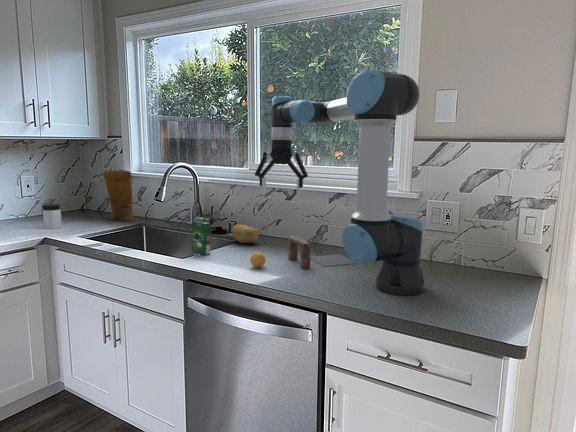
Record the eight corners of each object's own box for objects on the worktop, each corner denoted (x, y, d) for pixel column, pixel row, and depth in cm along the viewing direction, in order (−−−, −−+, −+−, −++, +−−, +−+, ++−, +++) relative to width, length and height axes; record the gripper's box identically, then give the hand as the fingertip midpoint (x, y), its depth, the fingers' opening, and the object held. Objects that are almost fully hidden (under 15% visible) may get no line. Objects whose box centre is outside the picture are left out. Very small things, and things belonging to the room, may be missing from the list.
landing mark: (357, 263, 169) (357, 263, 169) (323, 266, 164) (323, 266, 164) (340, 254, 182) (340, 254, 182) (308, 257, 177) (308, 256, 177)
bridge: (295, 258, 175) (295, 235, 174) (310, 268, 162) (310, 243, 160) (288, 258, 174) (288, 235, 172) (302, 269, 161) (302, 244, 159)
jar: (55, 225, 235) (53, 202, 233) (65, 226, 231) (64, 203, 229) (39, 228, 227) (37, 204, 225) (49, 229, 223) (47, 206, 221)
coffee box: (211, 254, 180) (210, 222, 177) (206, 255, 177) (205, 223, 175) (196, 251, 184) (196, 220, 182) (191, 252, 182) (191, 221, 179)
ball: (267, 268, 161) (267, 253, 160) (252, 269, 159) (252, 254, 158) (262, 264, 166) (262, 250, 165) (248, 265, 164) (248, 251, 163)
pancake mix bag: (129, 222, 244) (126, 171, 240) (104, 219, 253) (101, 170, 248) (138, 220, 250) (136, 170, 246) (113, 218, 259) (111, 169, 254)
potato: (248, 247, 192) (248, 229, 191) (227, 242, 201) (226, 224, 200) (264, 243, 199) (264, 226, 198) (242, 238, 208) (242, 222, 207)
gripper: (316, 139, 168) (314, 195, 171) (253, 138, 173) (252, 192, 177) (312, 139, 160) (311, 198, 164) (246, 138, 166) (246, 195, 170)
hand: (280, 195), depth 171 cm, fingers open, 13 cm apart
